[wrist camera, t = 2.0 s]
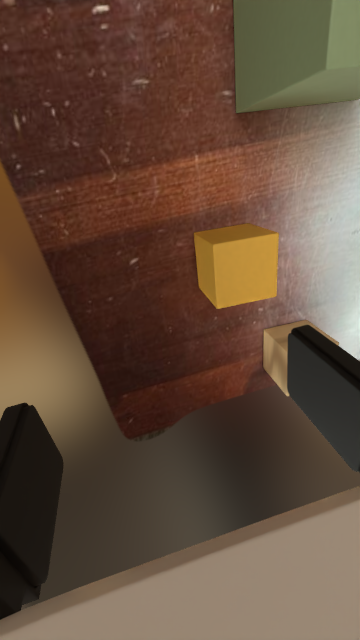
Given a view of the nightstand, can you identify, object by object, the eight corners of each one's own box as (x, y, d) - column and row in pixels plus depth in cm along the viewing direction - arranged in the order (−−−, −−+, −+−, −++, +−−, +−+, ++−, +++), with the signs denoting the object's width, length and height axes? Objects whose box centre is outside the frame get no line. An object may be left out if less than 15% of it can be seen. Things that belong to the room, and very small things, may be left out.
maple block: (303, 357, 34) (332, 384, 29) (262, 367, 33) (287, 396, 28) (306, 319, 31) (339, 342, 27) (263, 329, 30) (290, 354, 26)
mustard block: (249, 277, 27) (276, 296, 23) (198, 287, 27) (216, 309, 22) (248, 222, 25) (279, 232, 21) (193, 232, 24) (212, 244, 20)
